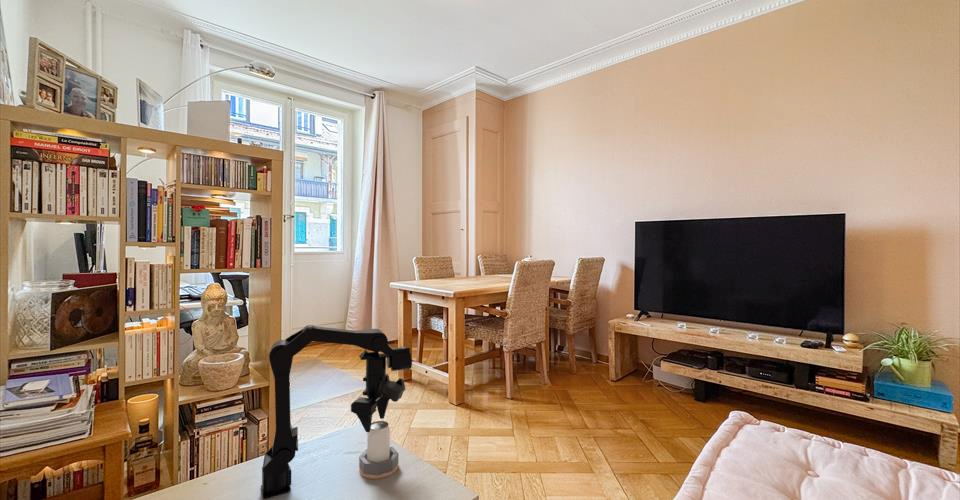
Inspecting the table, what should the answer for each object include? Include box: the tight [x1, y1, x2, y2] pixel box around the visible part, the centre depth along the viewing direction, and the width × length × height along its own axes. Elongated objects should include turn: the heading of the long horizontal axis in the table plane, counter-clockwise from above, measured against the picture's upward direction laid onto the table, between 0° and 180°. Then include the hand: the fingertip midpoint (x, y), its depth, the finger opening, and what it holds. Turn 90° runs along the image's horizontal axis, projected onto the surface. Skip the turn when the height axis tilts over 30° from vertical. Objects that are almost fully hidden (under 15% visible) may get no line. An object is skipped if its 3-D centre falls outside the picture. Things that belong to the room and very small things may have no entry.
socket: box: [358, 446, 399, 480], centre depth 119 cm, size 11×11×4 cm
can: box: [366, 420, 391, 463], centre depth 119 cm, size 6×6×12 cm
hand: (375, 425), depth 119 cm, fingers open, 9 cm apart
